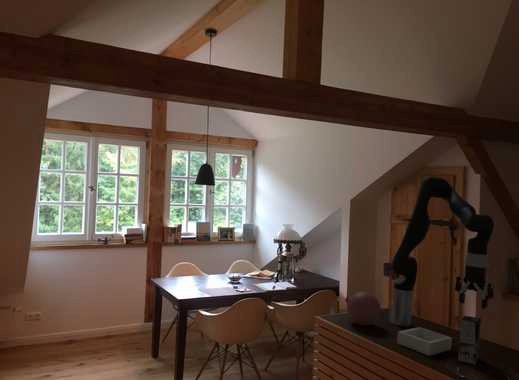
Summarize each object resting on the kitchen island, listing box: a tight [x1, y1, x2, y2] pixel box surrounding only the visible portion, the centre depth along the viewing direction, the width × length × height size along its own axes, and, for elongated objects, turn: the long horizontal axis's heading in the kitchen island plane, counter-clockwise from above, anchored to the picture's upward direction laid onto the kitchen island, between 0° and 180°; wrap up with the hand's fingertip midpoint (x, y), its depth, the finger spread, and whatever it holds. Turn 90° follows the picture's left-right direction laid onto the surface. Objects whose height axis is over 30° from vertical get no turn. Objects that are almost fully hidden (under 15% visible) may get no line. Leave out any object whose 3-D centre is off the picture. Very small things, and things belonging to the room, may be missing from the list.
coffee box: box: [457, 315, 482, 366], centre depth 175 cm, size 9×6×16 cm
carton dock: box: [396, 326, 453, 357], centre depth 186 cm, size 15×16×5 cm
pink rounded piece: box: [344, 291, 382, 326], centre depth 212 cm, size 15×20×15 cm
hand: (472, 305), depth 175 cm, fingers open, 8 cm apart
